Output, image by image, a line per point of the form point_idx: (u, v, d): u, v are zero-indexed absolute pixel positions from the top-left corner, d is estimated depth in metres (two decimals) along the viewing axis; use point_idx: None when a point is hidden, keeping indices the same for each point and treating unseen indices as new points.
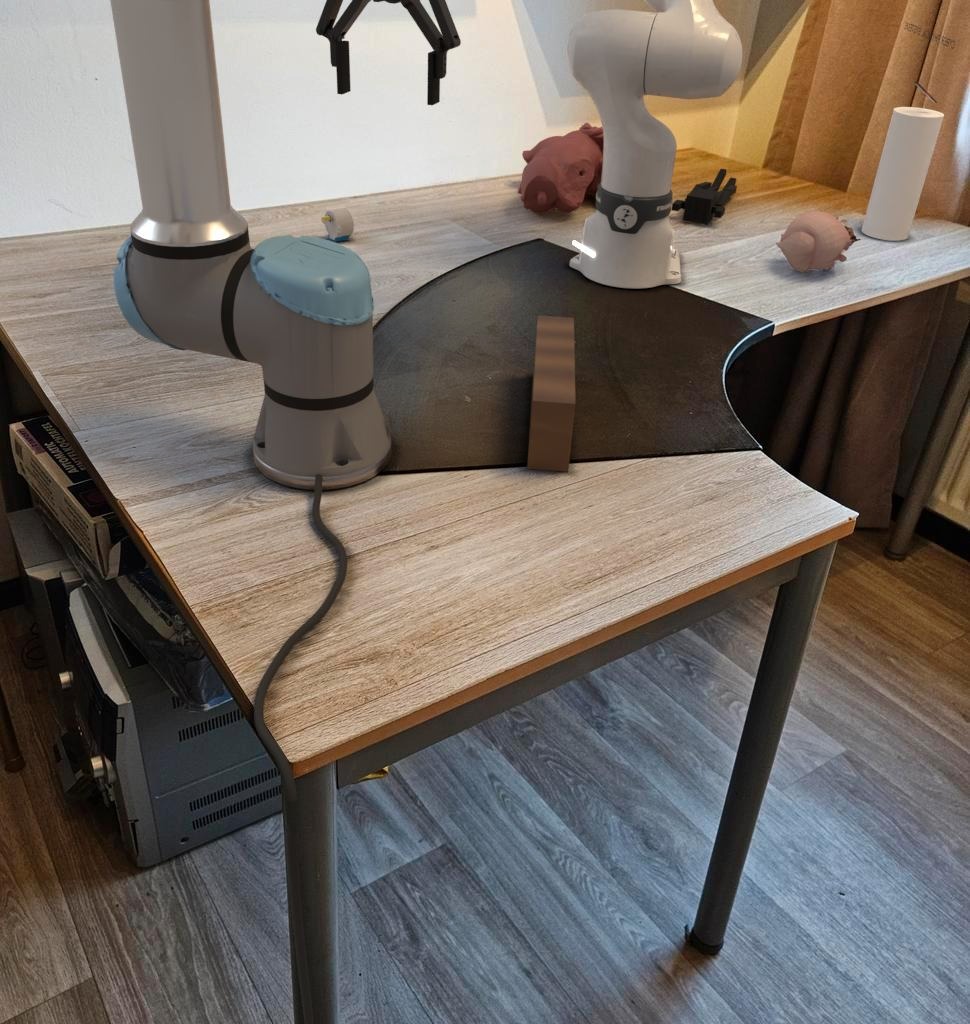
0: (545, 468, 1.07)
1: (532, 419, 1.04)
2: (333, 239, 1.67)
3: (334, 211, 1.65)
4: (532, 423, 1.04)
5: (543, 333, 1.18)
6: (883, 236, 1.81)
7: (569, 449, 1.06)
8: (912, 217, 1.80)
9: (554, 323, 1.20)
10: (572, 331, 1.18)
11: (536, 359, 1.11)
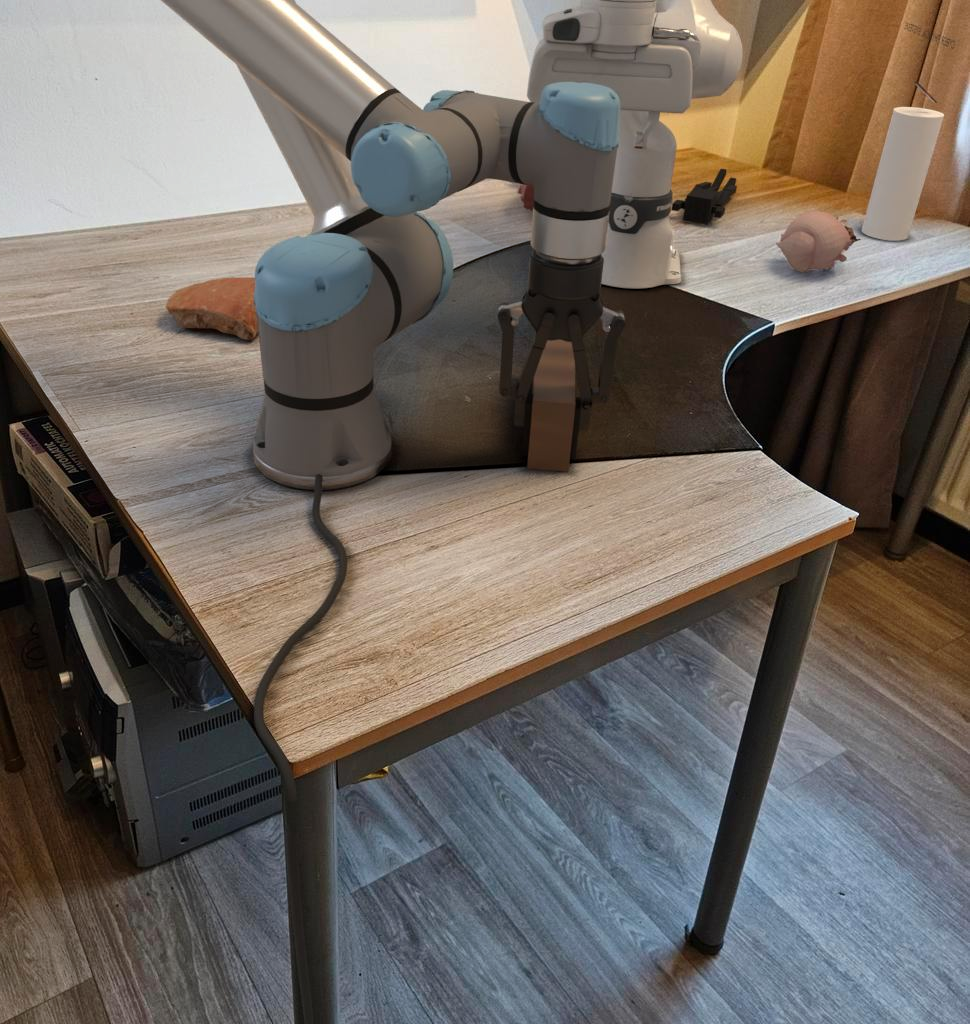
0: (545, 468, 1.07)
1: (532, 419, 1.04)
2: None
3: None
4: (532, 423, 1.04)
5: None
6: (883, 236, 1.81)
7: (569, 449, 1.06)
8: (912, 217, 1.80)
9: None
10: None
11: None
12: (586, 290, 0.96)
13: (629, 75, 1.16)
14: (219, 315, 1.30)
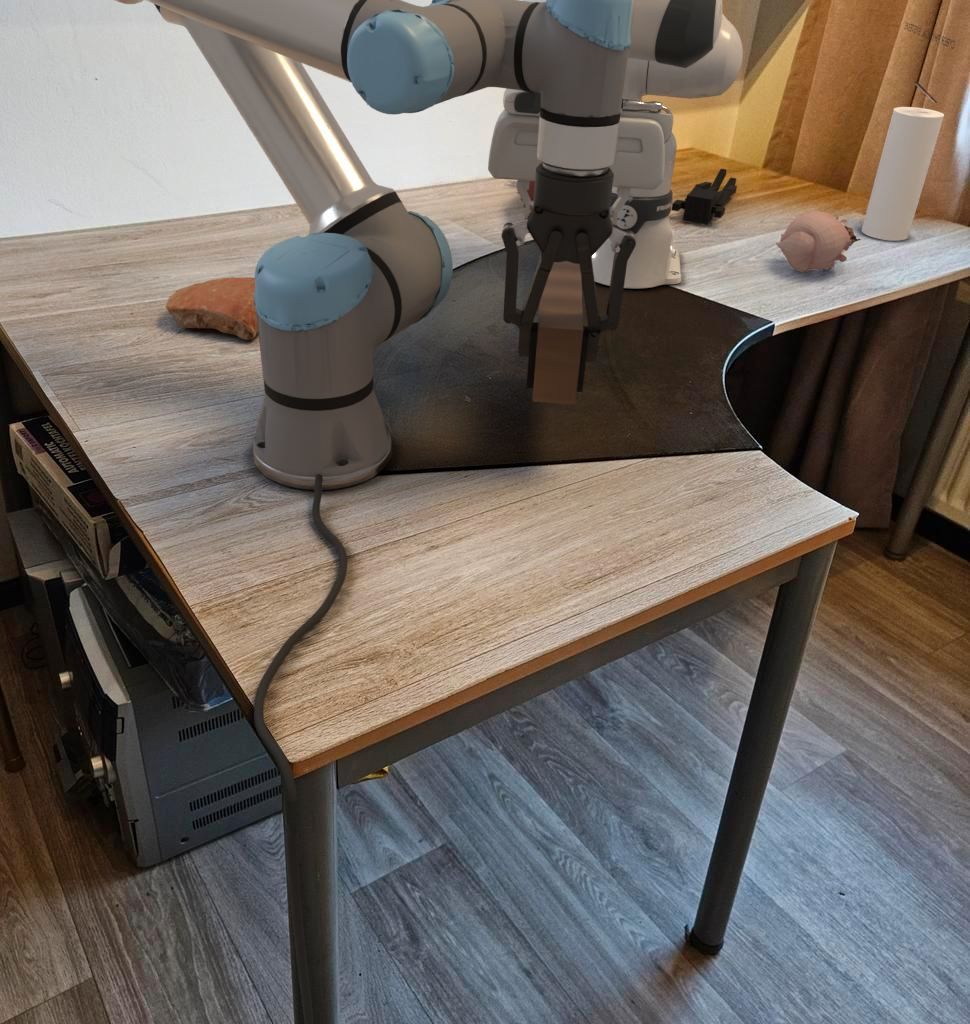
0: (551, 400, 1.03)
1: (538, 347, 0.99)
2: None
3: None
4: (538, 351, 0.99)
5: None
6: (883, 236, 1.81)
7: (576, 380, 1.01)
8: (912, 217, 1.80)
9: None
10: (579, 264, 1.14)
11: None
12: (595, 205, 0.91)
13: None
14: (219, 315, 1.30)
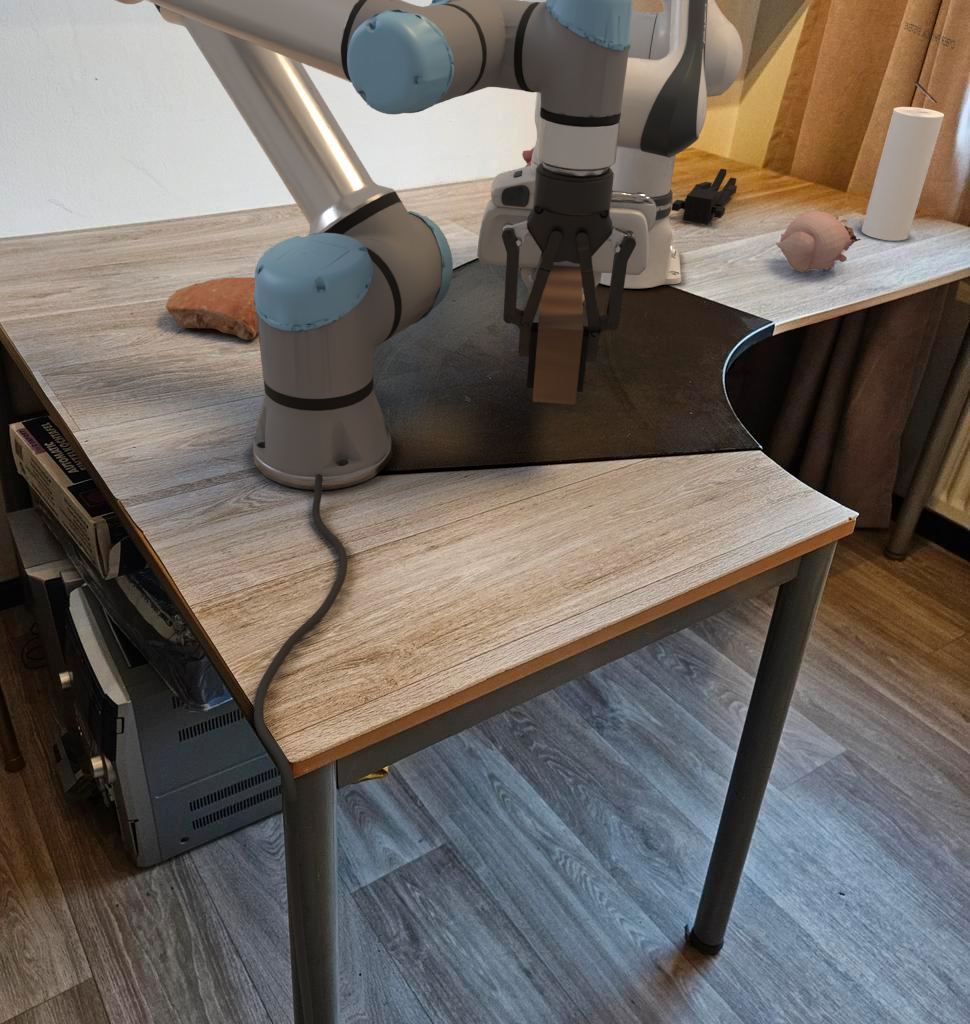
0: (551, 401, 1.03)
1: (538, 347, 0.99)
2: None
3: None
4: (538, 351, 0.99)
5: None
6: (883, 236, 1.81)
7: (576, 380, 1.01)
8: (912, 217, 1.80)
9: None
10: None
11: None
12: (595, 204, 0.91)
13: None
14: (219, 315, 1.30)
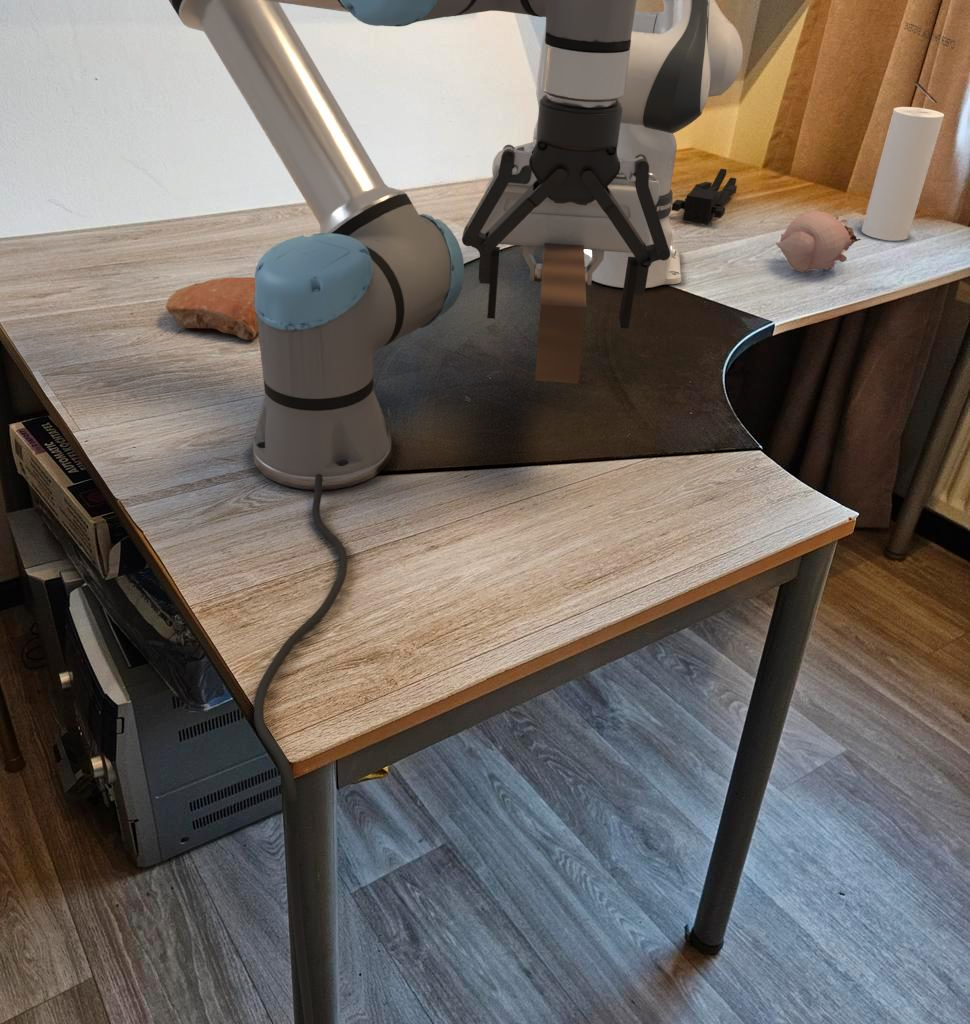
0: (554, 380, 1.01)
1: (540, 325, 0.98)
2: None
3: None
4: (540, 329, 0.98)
5: (551, 244, 1.12)
6: (883, 236, 1.81)
7: (579, 358, 1.00)
8: (912, 217, 1.80)
9: None
10: None
11: (544, 267, 1.05)
12: (603, 139, 0.86)
13: (585, 215, 1.10)
14: (219, 315, 1.30)
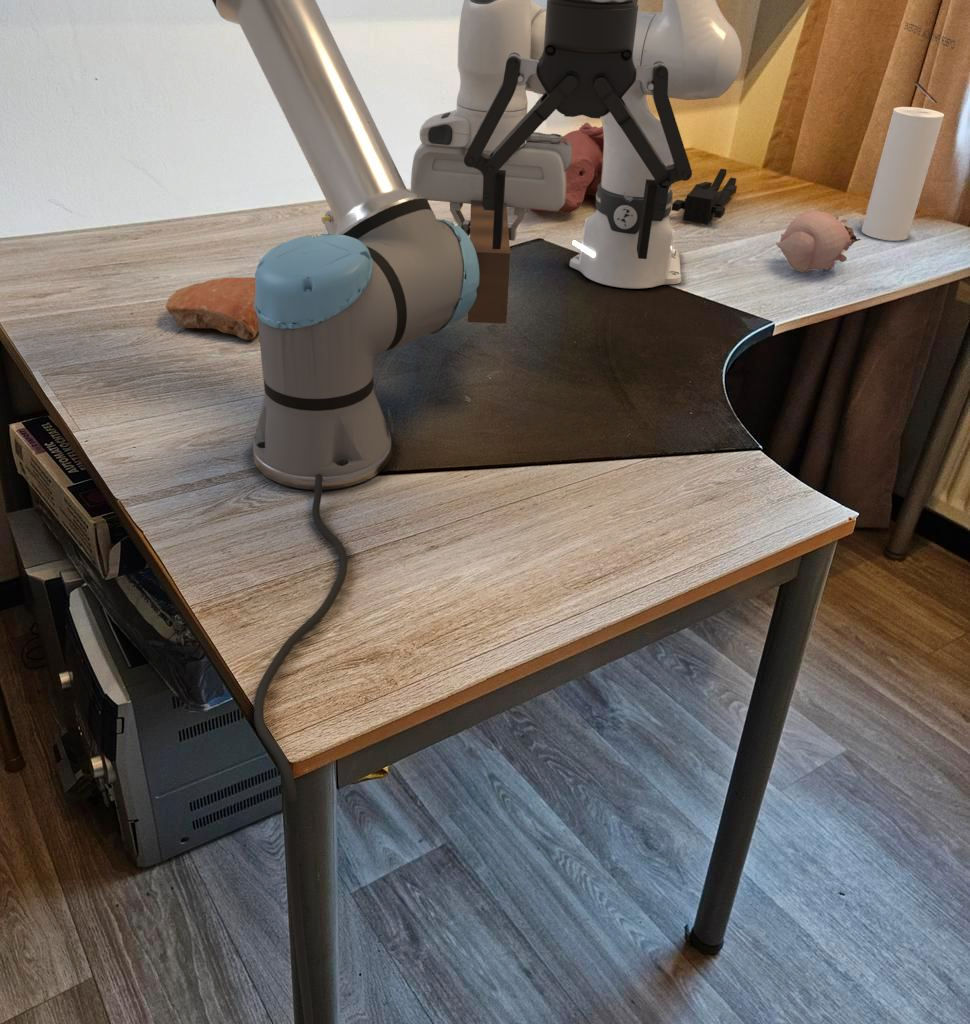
0: (484, 321, 1.13)
1: None
2: None
3: None
4: None
5: (477, 203, 1.24)
6: (883, 236, 1.81)
7: (506, 300, 1.12)
8: (912, 217, 1.80)
9: None
10: None
11: (471, 222, 1.17)
12: (617, 39, 0.78)
13: None
14: (219, 315, 1.30)
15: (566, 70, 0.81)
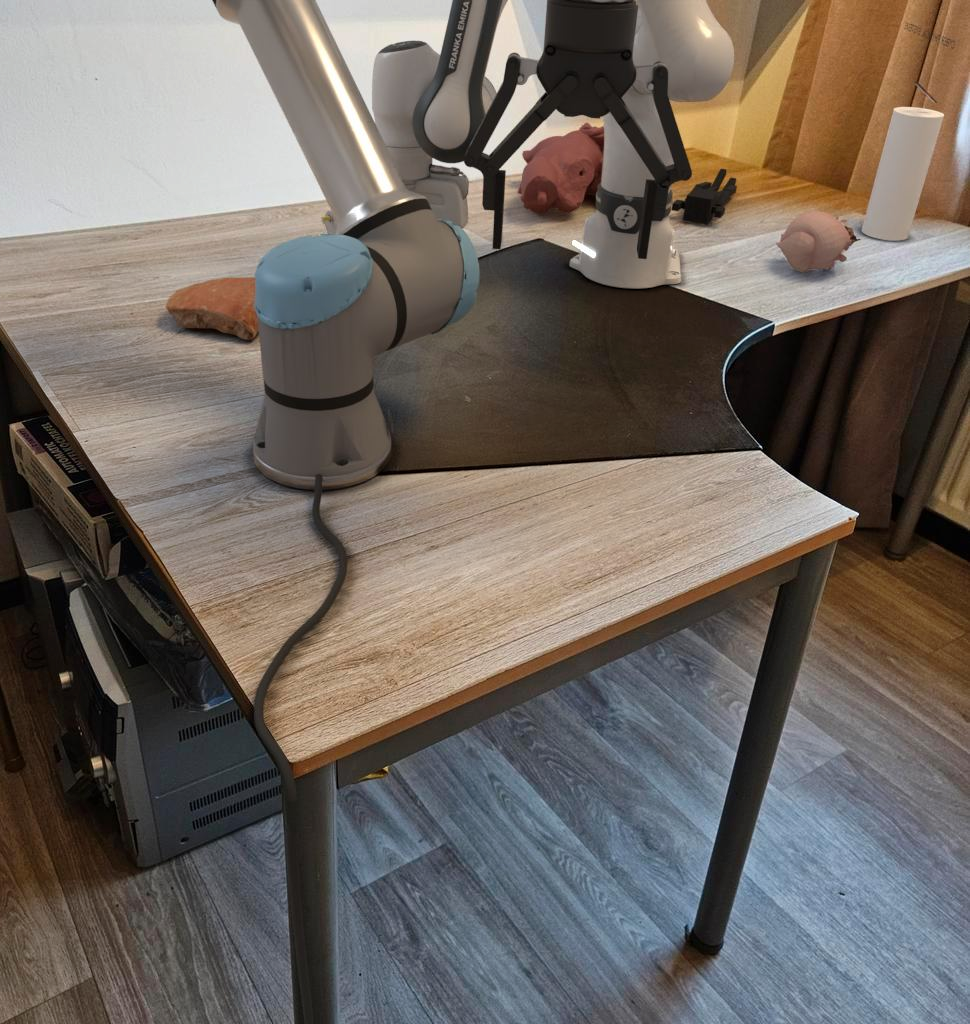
0: None
1: None
2: None
3: None
4: None
5: None
6: (883, 236, 1.81)
7: None
8: (912, 217, 1.80)
9: None
10: None
11: None
12: (617, 39, 0.78)
13: None
14: (219, 315, 1.30)
15: (566, 70, 0.81)
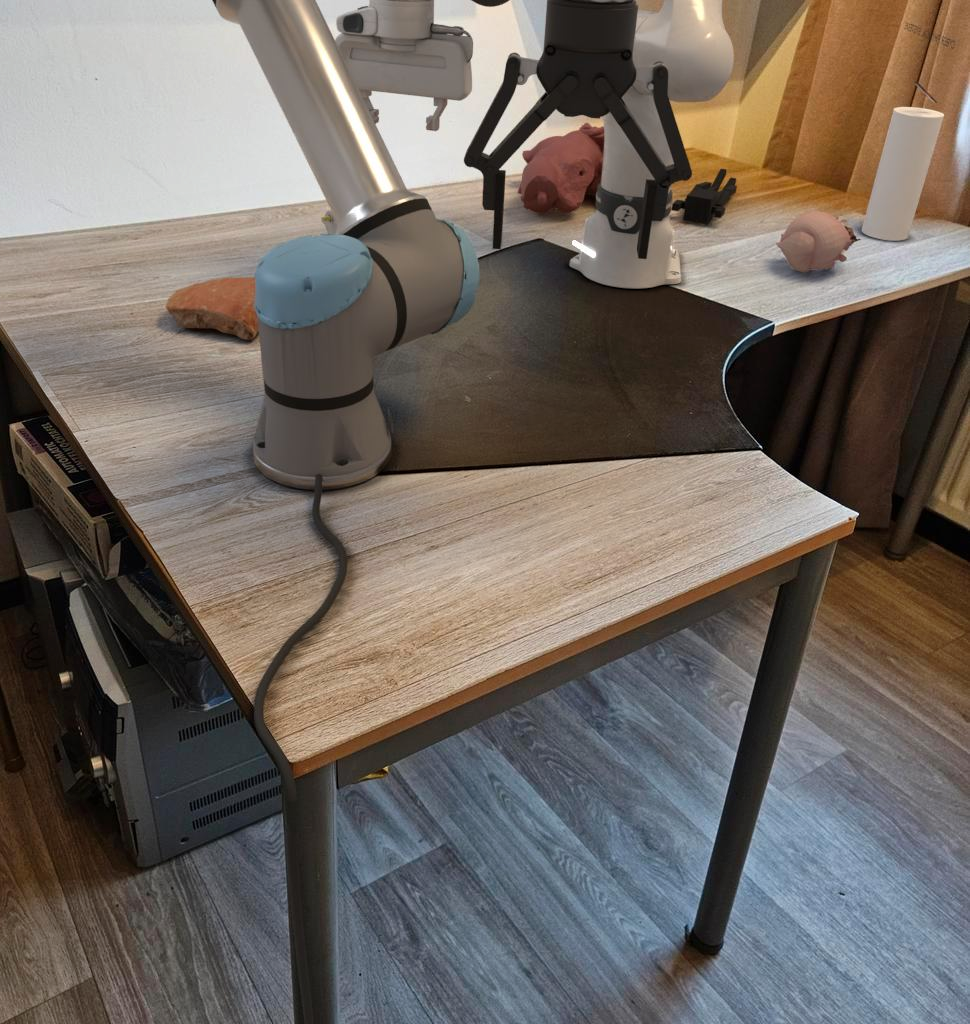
0: None
1: None
2: None
3: None
4: None
5: None
6: (883, 236, 1.81)
7: None
8: (912, 217, 1.80)
9: None
10: None
11: None
12: (617, 39, 0.78)
13: (412, 64, 1.34)
14: (219, 315, 1.30)
15: (566, 70, 0.81)
